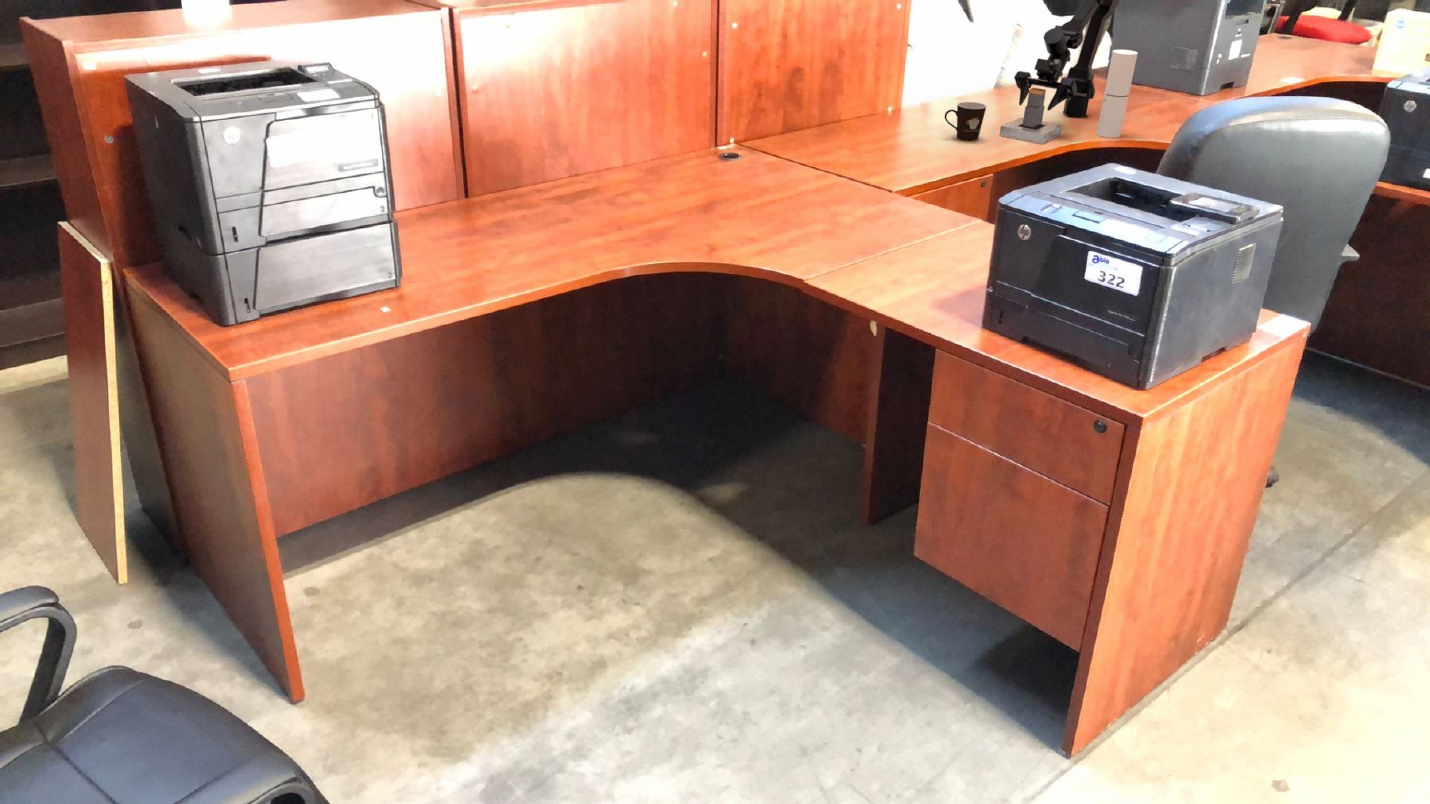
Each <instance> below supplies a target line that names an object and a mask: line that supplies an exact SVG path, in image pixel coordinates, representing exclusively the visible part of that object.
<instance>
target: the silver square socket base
mask: <svg viewBox="0 0 1430 804" xmlns="http://www.w3.org/2000/svg"><path fill="white" fill-rule="evenodd" d="M1023 118H1024V117H1018V118H1016V119H1014V120H1012V121H1010V122H1007V123H1005V124H1002V125H1000V128H999V137H1005V138H1009V139H1014V140H1020V141H1023V142H1024V141H1025V142H1027V143H1028V142H1030V143H1033V144H1038V143H1039V144H1040V145H1043V144H1045V143H1046V144H1047V142H1049V141H1052V140H1054V139H1055V138H1056V139H1057V138H1058V137H1060V136H1062V132H1063V127H1064V126H1063V125H1062V124H1058V123H1051V122H1046V121H1042V125H1041V128H1040V129H1038V130H1034V129H1029V128H1024V127H1022V125H1023Z"/></svg>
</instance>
